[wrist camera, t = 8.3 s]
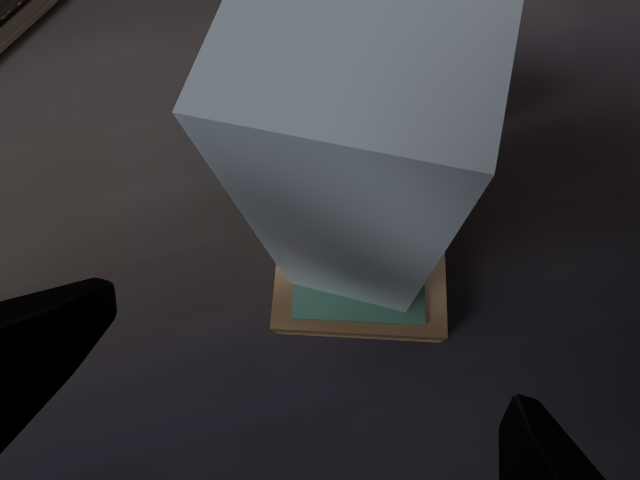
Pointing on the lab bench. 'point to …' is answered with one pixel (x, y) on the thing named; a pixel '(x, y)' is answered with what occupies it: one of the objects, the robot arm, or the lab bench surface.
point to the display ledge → (360, 312)
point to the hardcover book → (19, 17)
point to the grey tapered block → (353, 130)
